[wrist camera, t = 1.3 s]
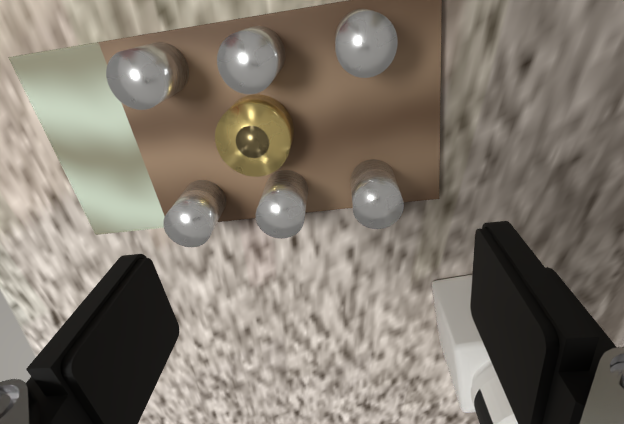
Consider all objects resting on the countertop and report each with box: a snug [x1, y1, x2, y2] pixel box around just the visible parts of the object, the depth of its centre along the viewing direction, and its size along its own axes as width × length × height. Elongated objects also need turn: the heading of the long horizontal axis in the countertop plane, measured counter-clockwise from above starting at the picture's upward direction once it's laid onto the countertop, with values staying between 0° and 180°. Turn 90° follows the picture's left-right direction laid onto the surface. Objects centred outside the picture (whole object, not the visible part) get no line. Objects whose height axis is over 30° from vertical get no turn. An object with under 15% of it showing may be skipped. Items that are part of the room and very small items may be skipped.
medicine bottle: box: [432, 275, 518, 424], centre depth 27 cm, size 7×7×12 cm
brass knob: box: [215, 94, 294, 177], centre depth 24 cm, size 4×4×3 cm
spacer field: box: [106, 9, 404, 247], centre depth 23 cm, size 12×15×4 cm
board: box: [8, 0, 442, 235], centre depth 26 cm, size 13×26×1 cm, turn 98°
